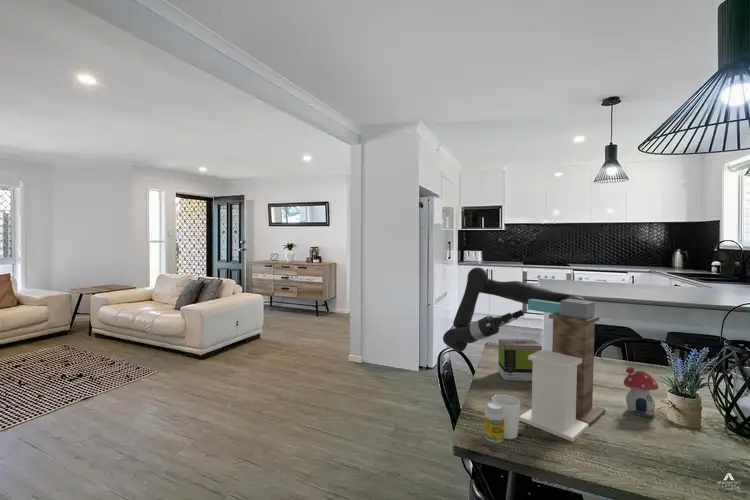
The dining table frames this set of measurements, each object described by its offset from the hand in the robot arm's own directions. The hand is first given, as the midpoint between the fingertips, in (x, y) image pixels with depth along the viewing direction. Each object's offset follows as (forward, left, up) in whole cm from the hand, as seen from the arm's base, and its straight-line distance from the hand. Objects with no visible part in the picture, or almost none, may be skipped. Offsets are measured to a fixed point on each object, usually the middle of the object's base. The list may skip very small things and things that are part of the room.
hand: (517, 313), depth 137 cm
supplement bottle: (+16, +34, -30) cm, 48 cm away
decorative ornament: (-36, +14, -30) cm, 49 cm away
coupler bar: (-10, +11, +3) cm, 15 cm away
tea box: (-6, -15, -30) cm, 34 cm away
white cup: (+12, +31, -30) cm, 44 cm away
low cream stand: (-4, +24, -29) cm, 38 cm away
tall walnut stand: (-14, +14, -29) cm, 35 cm away
